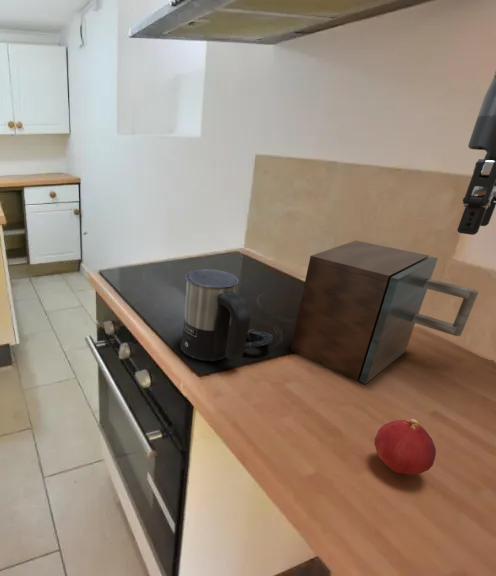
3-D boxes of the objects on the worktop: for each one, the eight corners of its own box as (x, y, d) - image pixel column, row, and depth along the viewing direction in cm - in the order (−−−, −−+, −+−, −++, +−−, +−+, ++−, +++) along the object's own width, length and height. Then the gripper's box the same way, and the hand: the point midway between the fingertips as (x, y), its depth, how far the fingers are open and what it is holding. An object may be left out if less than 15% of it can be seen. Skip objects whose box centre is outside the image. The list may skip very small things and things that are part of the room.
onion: (374, 444, 51) (391, 396, 48) (428, 470, 47) (450, 419, 44) (362, 469, 47) (379, 418, 44) (419, 499, 43) (443, 446, 40)
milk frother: (169, 347, 73) (174, 276, 68) (216, 322, 83) (223, 257, 77) (235, 381, 64) (247, 300, 58) (279, 347, 73) (293, 276, 68)
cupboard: (397, 349, 73) (429, 255, 66) (357, 381, 64) (389, 275, 56) (333, 325, 82) (355, 240, 75) (290, 350, 73) (310, 255, 65)
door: (449, 368, 67) (490, 268, 60) (413, 406, 58) (456, 293, 50) (399, 349, 73) (430, 256, 65) (359, 381, 63) (390, 277, 56)
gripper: (550, 110, 45) (497, 242, 51) (559, 113, 53) (513, 226, 60) (468, 112, 50) (429, 232, 57) (488, 115, 59) (452, 218, 65)
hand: (472, 229), depth 58 cm, fingers open, 8 cm apart
